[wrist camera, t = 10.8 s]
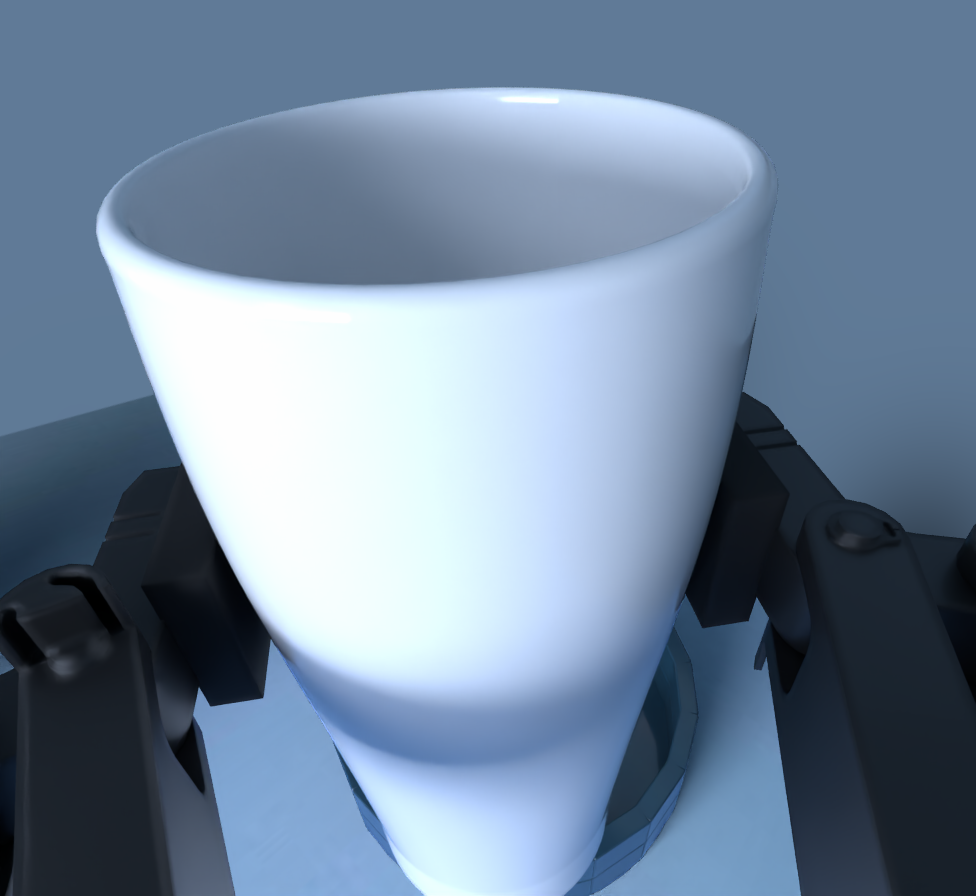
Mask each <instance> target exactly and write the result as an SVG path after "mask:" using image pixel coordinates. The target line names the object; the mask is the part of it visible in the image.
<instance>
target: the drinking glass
mask: <svg viewBox="0 0 976 896" xmlns="http://www.w3.org/2000/svg"><path fill="white" fill-rule="evenodd" d="M777 194H778V178H777V174H776V169H775V166H774V164H773V162H772V160H771V159H770V157H769V155H768V153H767V152H766V151H765V150H764V149H763V148H762V147H761V146H760V144H758V142H757V141H756V140H754V139H752V137H750V136H749V135H748V134H746V133H745V132H743V131H742V130H740V129H738V128H736V127H735V126H733V125H731V124H729V123H727V122H725V121H723V120H720V119H718V118H716V117H713V116H711V115H708V114H705V113H702V112H699V111H696V110H693V109H689V108H686V107H683V106H679V105H675V104H670V103H666V102H662V101H657V100H651V99H647V98H641V97H635V96H629V95H621V94H613V93H606V92H596V91H586V90H572V89H556V88H529V87H487V88H486V87H484V88H483V87H482V88H457V89H456V88H454V89H440V90H439V89H437V90H423V91H411V92H401V93H391V94H382V95H374V96H365V97H358V98H351V99H344V100H339V101H332V102H326V103H320V104H315V105H310V106H305V107H299V108H295V109H290V110H285V111H281V112H277V113H272V114H268V115H264V116H260V117H256V118H253V119H249V120H245V121H241V122H238V123H235V124H231V125H228V126H225V127H222V128H218V129H215V130H213V131H210V132H207V133H204V134H201V135H198V136H196V137H194V138H191V139H189V140H186V141H184V142H181V143H179V144H177V145H174V146H172V147H170V148H168V149H166V150H164V151H162V152H160V153H158V154H156V155H155V156H153V157H151V158H149V159H147V160H146V161H144V162H143V163H141V164H140V165H138V166H136V167H135V168H133V169H132V170H131V171H130V172H129V173H127V174H126V175H125V176H123V177H122V178H121V179H120V180H119V181H118V182H117V183H116V184H115V185H114V186H113V187H112V188H111V190H110V191H109V193H108V194H107V196H106V197H105V199H104V200H103V202H102V204H101V206H100V209H99V212H98V215H97V219H96V236H97V240H98V244H99V246H100V250H101V253H102V255H103V258H104V260H105V262H106V264H107V267H108V269H109V271H110V274H111V277H112V279H113V282H114V285H115V287H116V290H117V293H118V295H119V298H120V301H121V304H122V307H123V309H124V312H125V315H126V318H127V321H128V323H129V326H130V329H131V332H132V335H133V338H134V340H135V343H136V346H137V348H138V351H139V354H140V357H141V360H142V362H143V365H144V368H145V370H146V373H147V376H148V379H149V381H150V384H151V386H152V389H153V392H154V394H155V397H156V400H157V402H158V405H159V407H160V410H161V413H162V415H163V418H164V420H165V423H166V425H167V428H168V430H169V432H170V435H171V437H172V440H173V442H174V445H175V447H176V450H177V452H178V455H179V457H180V459H181V462H182V464H183V466H184V469H185V471H186V473H187V476H188V478H189V480H190V483H191V485H192V487H193V490H194V492H195V494H196V496H197V498H198V500H199V503H200V505H201V507H202V509H203V511H204V513H205V516H206V518H207V520H208V522H209V524H210V527H211V529H212V531H213V533H214V535H215V537H216V539H217V541H218V543H219V545H220V547H221V549H222V551H223V553H224V555H225V557H226V559H227V561H228V563H229V565H230V566H231V568H232V570H233V572H234V574H235V576H236V578H237V579H238V581H239V583H240V585H241V587H242V589H243V591H244V592H245V594H246V596H247V598H248V600H249V601H250V603H251V605H252V607H253V609H254V610H255V612H256V614H257V615H258V617H259V619H260V621H261V622H262V624H263V626H264V627H265V629H266V631H267V633H268V634H269V636H270V638H271V639H272V641H273V643H274V645H275V646H276V648H277V650H278V651H279V653H280V655H281V656H282V658H283V660H284V661H285V663H286V665H287V666H288V668H289V670H290V671H291V673H292V674H293V676H294V678H295V679H296V681H297V683H298V684H299V686H300V688H301V689H302V691H303V693H304V694H305V696H306V698H307V699H308V701H309V703H310V704H311V706H312V707H313V709H314V711H315V712H316V714H317V716H318V717H319V719H320V721H321V722H322V724H323V726H324V727H325V729H326V731H327V732H328V734H329V735H330V737H331V739H332V740H333V742H334V744H335V746H336V747H337V749H338V751H339V752H340V754H341V756H342V757H343V759H344V761H345V762H346V764H347V766H348V767H349V769H350V771H351V772H352V774H353V776H354V777H355V779H356V781H357V782H358V784H359V786H360V788H361V789H362V791H363V793H364V794H365V796H366V798H367V800H368V801H369V803H370V805H371V806H372V808H373V810H374V812H375V813H376V815H377V817H378V819H379V820H380V822H381V824H382V827H383V830H384V833H385V836H386V839H387V841H388V844H389V846H390V848H391V851H392V853H393V855H394V857H395V859H396V861H397V863H398V864H399V866H400V868H401V869H402V871H403V872H404V873H405V875H406V876H407V878H408V879H409V880H410V881H411V882H412V883H413V885H414V886H415V887H416V888H417V889H418V890H419V891H420V892H422V893H423V894H424V895H425V896H564V895H565V894H566V893H567V892H568V891H569V890H571V889H572V888H573V887H574V886H575V884H576V883H577V882H578V881H579V880H580V879H581V878H582V876H583V875H584V873H585V872H586V870H587V869H588V868H589V866H590V864H591V863H592V861H593V859H594V857H595V855H596V853H597V851H598V848H599V846H600V844H601V841H602V838H603V834H604V831H605V827H606V822H607V818H608V812H609V806H610V799H611V796H612V793H613V790H614V787H615V785H616V782H617V779H618V776H619V773H620V770H621V767H622V765H623V762H624V759H625V756H626V754H627V751H628V748H629V745H630V742H631V740H632V737H633V734H634V731H635V729H636V726H637V723H638V721H639V718H640V715H641V712H642V710H643V707H644V704H645V701H646V699H647V696H648V693H649V691H650V688H651V685H652V683H653V680H654V677H655V675H656V672H657V669H658V667H659V664H660V661H661V659H662V656H663V653H664V651H665V648H666V645H667V643H668V640H669V637H670V634H671V632H672V629H673V626H674V624H675V621H676V618H677V616H678V613H679V610H680V608H681V605H682V602H683V599H684V596H685V594H686V591H687V588H688V585H689V582H690V580H691V577H692V574H693V571H694V568H695V565H696V562H697V559H698V556H699V553H700V550H701V546H702V543H703V540H704V537H705V534H706V531H707V528H708V524H709V521H710V518H711V515H712V511H713V508H714V504H715V501H716V497H717V494H718V490H719V486H720V483H721V479H722V475H723V471H724V468H725V464H726V460H727V456H728V452H729V448H730V444H731V440H732V435H733V431H734V426H735V422H736V417H737V413H738V409H739V404H740V400H741V395H742V390H743V385H744V380H745V375H746V370H747V365H748V360H749V354H750V348H751V344H752V338H753V333H754V327H755V321H756V315H757V310H758V304H759V298H760V292H761V286H762V280H763V274H764V267H765V260H766V255H767V248H768V242H769V237H770V231H771V225H772V220H773V215H774V211H775V206H776V202H777Z"/></svg>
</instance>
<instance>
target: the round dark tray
mask: <svg viewBox="0 0 976 896" xmlns="http://www.w3.org/2000/svg"><path fill="white" fill-rule="evenodd" d="M697 722H698V706H697V699H696V692H695V684H694V677H693V669H692V664H691V660H690V658H689V656H688V654H687V652H686V650H685V648H684V646H683V644H682V642H681V640H680V638H679V636H678V634H677V632H676V630H675V628H674V626H673V629H672V632H671V634H670V637H669V640H668V643H667V645H666V648H665V651H664V653H663V656H662V659H661V661H660V664H659V667H658V669H657V672H656V675H655V677H654V680H653V683H652V685H651V688H650V691H649V693H648V696H647V699H646V701H645V704H644V707H643V710H642V712H641V715H640V718H639V721H638V723H637V726H636V729H635V731H634V734H633V737H632V740H631V742H630V745H629V748H628V751H627V754H626V756H625V759H624V762H623V765H622V767H621V770H620V773H619V776H618V779H617V782H616V785H615V787H614V790H613V793H612V796H611V799H610V806H609V812H608V818H607V822H606V827H605V831H604V834H603V838H602V841H601V844H600V846H599V848H598V851H597V853H596V855H595V857H594V859H593V861H592V863H591V864H590V866H589V868H588V869H587V870H586V872H585V873H584V875H583V876H582V878H581V879H580V880H579V881H578V882H577V883H576V884H575V886H574V887H573V888H572V889H571V890H569V891H568V892H567V893H566V894H565V895H564V896H589V895H591V894H593V893H595V892H598V891H600V890H602V889H603V888H605V887H606V886H608V885H609V884H611V883H612V882H614V881H615V880H617V879H618V878H619V877H621V876H622V875H624V874H625V873H626V872H627V871H628V870H629V869H630V868H631V867H632V866H633V865H634V864H636V863H637V862H639V861H640V859H641V858H643V856H644V855H645V853H646V852H647V850H648V849H649V848H650V846H651V845H652V844H653V843H654V841H655V840H656V839H657V837H658V836H659V834H660V832H661V830H662V828H663V827H664V825H665V823H666V822H667V820H668V819H669V817H670V816H671V814H672V813H673V811H674V809H675V806H676V802H677V799H678V796H679V793H680V789H681V786H682V783H683V780H684V776H685V773H686V770H687V765H688V761H689V757H690V752H691V748H692V743H693V739H694V735H695V730H696V726H697ZM332 741H333V740H332ZM333 744H334V742H333ZM334 746H335V744H334ZM335 749H336V751H337V754H338V756H339V759H340V762H341V764H342V767H343V769H344V772H345V775H346V777H347V780H348V782H349V785H350V787H351V790H352V793H353V795H354V798H355V800H356V803H357V805H358V808H359V811H360V813H361V816H362V818H363V821H364V823H365V826H366V828H367V830H368V831H369V832H370V833H371V835H372V836H373V837H374V838H375V839H376V840H377V841H378V843H379V844H380V845H381V847H382V848H383V849H384V851H385V852H386V853H387V855H388V856H389V857H391V858H392V859H393V860H394V861H395V862H396V863H397V861H396V859H395V857H394V855H393V853H392V851H391V848H390V846H389V844H388V841H387V839H386V836H385V833H384V830H383V827H382V824H381V822H380V820H379V819H378V817H377V815H376V813H375V812H374V810H373V808H372V806H371V805H370V803H369V801H368V800H367V798H366V796H365V794H364V793H363V791H362V789H361V788H360V786H359V784H358V782H357V781H356V779H355V777H354V776H353V774H352V772H351V771H350V769H349V767H348V766H347V764H346V762H345V761H344V759H343V757H342V756H341V754H340V752H339V751H338V749H337V747H336V746H335ZM397 864H398V863H397ZM398 865H399V864H398Z"/></svg>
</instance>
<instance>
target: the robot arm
mask: <svg viewBox="0 0 976 896" xmlns="http://www.w3.org/2000/svg"><path fill="white" fill-rule="evenodd" d="M113 518H114V522H111V523H110V526H109V528H108V531H107V533H106V536H105V538H106V541H105V542H103V543H102V545H101V548H100V550H99V552H98V555H97V557H96V560H95V562H94V565H93V566H91V565H82V564H68V565H64V566H59V567H55V568H51V569H47V570H45V571H43V572H41V573H39V574H36V575H34V576H32V577H30V578H28V579H26V580H24V581H23V582H21V583H20V584H19V585H17V586H16V587H15V588H13V589H12V590H11V591H9V592H8V593H7V594H5V595H4V596H3V597H2V598H1V600H0V652H1V653H2V654H3V655H4V656H5V658H6V659H7V660H8V661H9V662H10V663H11V665H12V666H13V667H14V669H12V670H10V671H8V672H6V673H4V674H1V675H0V896H235V891H234V887H233V882H232V877H231V872H230V867H229V862H228V857H227V852H226V847H225V843H224V838H223V833H222V828H221V823H220V818H219V813H218V808H217V803H216V798H215V794H214V789H213V784H212V779H211V774H210V769H209V764H208V759H207V754H206V750H205V745H204V740H203V735H202V731H201V729H200V727H199V725H198V723H197V721H196V720H195V718H194V716H193V712H194V707H195V702H196V697H197V693H198V688H199V687H200V689H201V691H202V693H203V694H204V696H205V698H206V699H207V701H208V703H209V705H210V706H217V705H223V704H230V703H236V702H242V701H248V700H255V699H261V698H263V696H264V688H265V680H266V672H267V664H268V656H269V648H270V640H271V638H270V636H269V634H268V633H267V631H266V629H265V627H264V626H263V624H262V622H261V621H260V619H259V617H258V615H257V614H256V612H255V610H254V609H253V607H252V605H251V603H250V601H249V600H248V598H247V596H246V594H245V592H244V591H243V589H242V587H241V585H240V583H239V581H238V579H237V578H236V576H235V574H234V572H233V570H232V568H231V566H230V565H229V563H228V561H227V559H226V557H225V555H224V553H223V551H222V549H221V547H220V545H219V543H218V541H217V539H216V537H215V535H214V533H213V531H212V529H211V527H210V524H209V522H208V520H207V518H206V516H205V513H204V511H203V509H202V507H201V505H200V503H199V500H198V498H197V496H196V494H195V492H194V490H193V487H192V485H191V483H190V480H189V478H188V476H187V473H186V471H185V469H184V466H183V464H182V462H181V465H180V466H177V467H169V468H161V469H153V470H146V471H144V472H143V473H142V474H141V475H140V476H139V477H138V478H137V479H136V480H135V481H134V482H133V483H132V484H131V485H130V486H129V487H128V488H127V490H126V491H125V492H124V493H123V494H122V497H121V499H120V502H119V504H118V507H117V509H116V511H115V514H114V516H113ZM686 595H687V598H688V600H689V602H690V604H691V606H692V608H693V610H694V612H695V614H696V616H697V618H698V620H699V622H700V625H701V627H702V628H707V627H713V626H719V625H726V624H732V623H738V622H744V621H749V618H750V615H751V612H752V609H753V606H754V603H755V600H756V597H757V598H758V600H759V602H760V603H761V605H762V607H763V609H764V610H765V612H766V614H767V615H768V617H769V620H768V623H767V625H766V628H765V631H764V634H763V637H762V639H761V642H760V645H759V648H758V651H757V653H756V656H755V663H754V669H756V670H762V667H763V664H764V662H765V659H766V657H767V663H768V670H769V677H770V684H771V691H772V698H773V705H774V712H775V718H776V725H777V732H778V739H779V746H780V753H781V760H782V767H783V774H784V780H785V787H786V794H787V801H788V808H789V815H790V822H791V829H792V835H793V842H794V849H795V856H796V863H797V870H798V877H799V884H800V891H801V896H976V524H975V525H974V526H973V528H972V530H971V532H970V533H969V535H968V536H967V538H966V539H963V538H953V537H944V536H934V535H925V534H915V533H909V532H905V530H904V529H903V528H902V526H901V524H900V523H898V522H897V521H896V520H895V519H893V518H892V517H890V516H889V515H888V514H887V513H886V512H884V511H882V510H879V509H877V508H875V507H873V506H871V505H868V504H866V503H861V502H856V501H852V500H846V499H845V498H844V497H843V496H842V495H841V493H840V492H839V491H838V490H837V489H836V487H835V486H834V485H833V484H832V483H831V481H830V480H829V479H828V478H827V477H826V475H825V474H824V473H823V472H822V471H821V469H820V468H819V467H818V466H817V465H816V463H815V462H814V461H813V460H812V459H811V457H810V456H809V455H808V454H807V453H806V452H805V450H804V449H803V448H802V447H801V446H800V445H797V441H796V440H795V439H794V437H793V436H792V435H791V434H790V432H789V431H788V430H784V425H783V424H782V423H781V422H780V420H779V419H778V418H777V417H776V416H775V414H774V413H773V412H772V411H771V410H770V408H769V407H768V406H766V405H764V404H762V403H761V402H759V401H758V400H756V399H754V398H753V397H751V396H749V395H748V394H746V393H744V392H742V395H741V400H740V404H739V409H738V413H737V417H736V422H735V426H734V431H733V435H732V440H731V444H730V448H729V452H728V456H727V460H726V464H725V468H724V471H723V475H722V479H721V483H720V486H719V490H718V494H717V497H716V501H715V504H714V508H713V511H712V515H711V518H710V521H709V524H708V528H707V531H706V534H705V537H704V540H703V543H702V546H701V550H700V553H699V556H698V559H697V562H696V565H695V568H694V571H693V574H692V577H691V580H690V582H689V585H688V588H687V591H686Z"/></svg>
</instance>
